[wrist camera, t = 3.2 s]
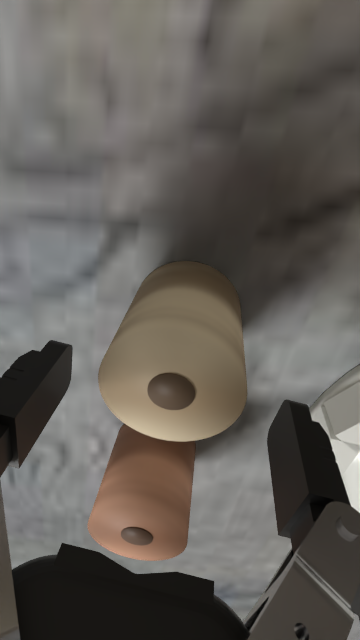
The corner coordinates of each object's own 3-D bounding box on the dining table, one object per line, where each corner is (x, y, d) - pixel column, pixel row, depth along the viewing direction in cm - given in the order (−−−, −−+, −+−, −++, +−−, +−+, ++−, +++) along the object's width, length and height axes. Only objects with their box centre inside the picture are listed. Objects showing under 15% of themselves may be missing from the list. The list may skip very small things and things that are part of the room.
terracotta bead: (121, 407, 20) (89, 498, 15) (203, 425, 20) (196, 522, 15) (114, 458, 22) (85, 549, 18) (187, 474, 22) (176, 569, 18)
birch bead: (142, 249, 14) (102, 313, 10) (254, 274, 14) (268, 351, 10) (130, 340, 17) (94, 426, 12) (225, 362, 17) (225, 455, 12)
